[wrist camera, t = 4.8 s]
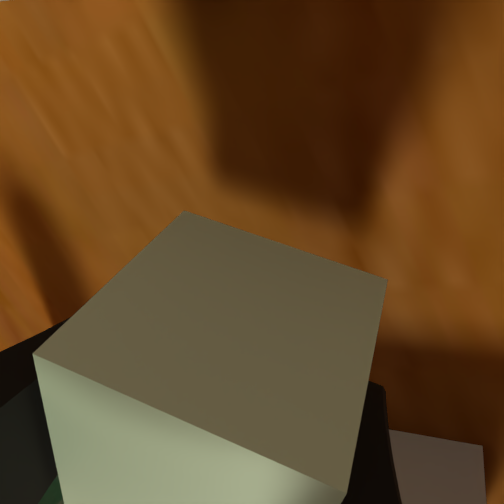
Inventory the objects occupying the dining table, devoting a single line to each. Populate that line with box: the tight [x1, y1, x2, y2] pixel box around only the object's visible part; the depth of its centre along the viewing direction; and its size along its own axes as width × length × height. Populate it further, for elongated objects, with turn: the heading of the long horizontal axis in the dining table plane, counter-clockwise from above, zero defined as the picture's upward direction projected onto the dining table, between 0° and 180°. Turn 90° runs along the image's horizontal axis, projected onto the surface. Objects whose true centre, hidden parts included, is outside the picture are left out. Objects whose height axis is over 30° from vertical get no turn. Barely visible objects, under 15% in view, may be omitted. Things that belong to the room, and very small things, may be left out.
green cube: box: [33, 211, 388, 504], centre depth 10 cm, size 5×5×5 cm
